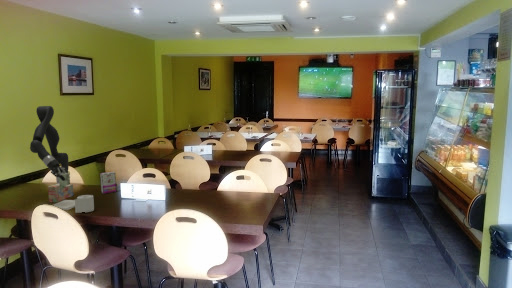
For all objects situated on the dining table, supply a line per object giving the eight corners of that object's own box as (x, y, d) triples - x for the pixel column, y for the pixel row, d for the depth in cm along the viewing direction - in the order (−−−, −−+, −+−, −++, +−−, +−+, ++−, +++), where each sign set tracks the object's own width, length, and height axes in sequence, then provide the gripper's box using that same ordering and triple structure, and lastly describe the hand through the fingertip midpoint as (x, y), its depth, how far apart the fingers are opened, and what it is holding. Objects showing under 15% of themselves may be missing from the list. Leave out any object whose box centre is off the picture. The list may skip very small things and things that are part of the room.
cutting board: (65, 201, 319) (65, 199, 319) (84, 202, 316) (84, 200, 316) (47, 209, 299) (47, 206, 299) (67, 210, 296) (67, 207, 296)
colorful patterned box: (66, 195, 339) (65, 180, 337) (73, 195, 338) (72, 180, 336) (48, 202, 318) (47, 186, 316) (56, 202, 317) (55, 186, 315)
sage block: (64, 184, 308) (63, 173, 307) (70, 184, 307) (69, 173, 306) (59, 185, 304) (58, 174, 303) (65, 185, 303) (65, 174, 302)
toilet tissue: (96, 208, 300) (95, 194, 298) (90, 213, 288) (89, 199, 287) (81, 208, 299) (80, 194, 298) (74, 213, 287) (73, 199, 286)
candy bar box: (114, 190, 353) (113, 171, 351) (116, 191, 349) (115, 172, 347) (101, 192, 346) (99, 173, 344) (103, 193, 342) (102, 174, 340)
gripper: (47, 160, 298) (63, 177, 297) (60, 157, 312) (76, 173, 311) (41, 167, 299) (57, 184, 298) (54, 164, 313) (70, 180, 312)
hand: (66, 179), depth 305 cm, fingers closed on sage block, 5 cm apart
